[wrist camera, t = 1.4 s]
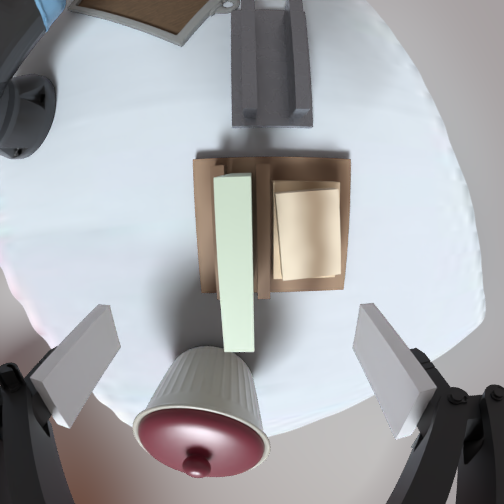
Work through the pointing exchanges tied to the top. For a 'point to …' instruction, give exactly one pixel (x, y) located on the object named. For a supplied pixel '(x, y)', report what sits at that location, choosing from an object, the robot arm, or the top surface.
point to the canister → (204, 416)
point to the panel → (235, 259)
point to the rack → (265, 216)
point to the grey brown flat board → (156, 15)
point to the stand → (270, 67)
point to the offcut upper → (308, 232)
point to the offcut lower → (276, 187)
